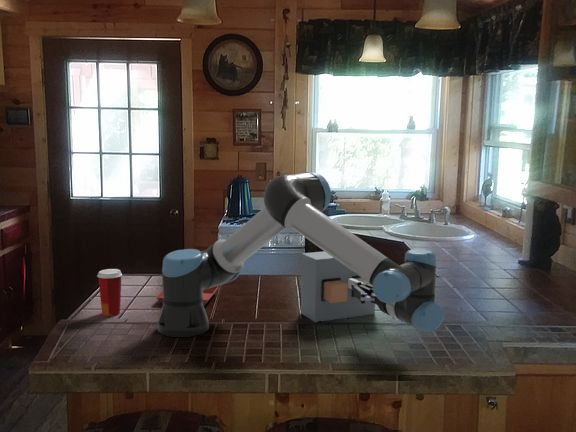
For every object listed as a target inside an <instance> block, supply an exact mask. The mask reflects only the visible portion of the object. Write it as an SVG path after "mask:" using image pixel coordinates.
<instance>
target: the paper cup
mask: <svg viewBox="0 0 576 432" xmlns="http://www.w3.org/2000/svg"><path fill="white" fill-rule="evenodd" d="M122 276H123V274H122V271H121V270H120V269H118V268H107V269H102V270H100V271H98V273H97V275H96V277H97V278H98V285H99V298H100V308H101V314H102V316H105V317H115V316H118V315H120V314H121V303H122V302H121V301H122V300H121V296H122Z"/></svg>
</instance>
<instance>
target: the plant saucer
mask: <svg viewBox="0 0 576 432" xmlns="http://www.w3.org/2000/svg"><path fill="white" fill-rule="evenodd" d="M218 289H219V286H215V287H212V288H209V289H206V290H203V306H204V307H205V306H206V305H207V303H208V302H209V301H210V299H211V298H212V297H214V295H215V293H216V292H217V291H218ZM155 297H156V299H157V300H158V301H159V302H160V303H161V304H162V305H163V290H162V291H161V292H160V293H159V294H157V295H156V296H155Z"/></svg>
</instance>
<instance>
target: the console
mask: <svg viewBox="0 0 576 432" xmlns="http://www.w3.org/2000/svg"><path fill="white" fill-rule="evenodd" d="M300 271H301V276H300V278H301V280H300V281H301V283H300V285H301V286H300V287H301V288H300V290H301V291H300V314H302V316H304V317H306V318H308V319H309V320H311V321H312V322H313V323H319V322H318V321H321V322H327V321H332V320H334V319H335V320H339V319H341V320H342V319H347V318H353V317H354V318H355V317H362V316H368V315H369V316H370V315H375V312H376V310H375V309H376V304H374V303H371V302H370V301H367V302H365V303H364V304H362V303H361V301H360V300H359V299H358V298H357V297H355V296H354V295H353V290H352V289H350V288H348V279H351V278H353V279H355V278H361V277H360V276H358V275H357V274H356V273H354V272H353V271H351V270H350V269H349V268H347V267H346V266H345V265H343V264H342V263H340V262H339V261H338V260H336V259H335V258H333V257H332V256H331V255H329V254H328V253H326V252H325V251H324V250H322V251H315V252H304V253H303V252H302V253H301V270H300ZM337 280H340V281H342V282H344V283H346V284H347V301H346V302H338V303H330V302H328V301H326V300H324V282H328V281H337ZM335 320H334V321H335Z"/></svg>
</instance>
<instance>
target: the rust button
mask: <svg viewBox="0 0 576 432" xmlns="http://www.w3.org/2000/svg"><path fill="white" fill-rule="evenodd" d="M324 300H326V301H328V302H330V303H338V302H346V301H347V284H346V283H344V282H342V281H340V280H337V281H328V282H324Z"/></svg>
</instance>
